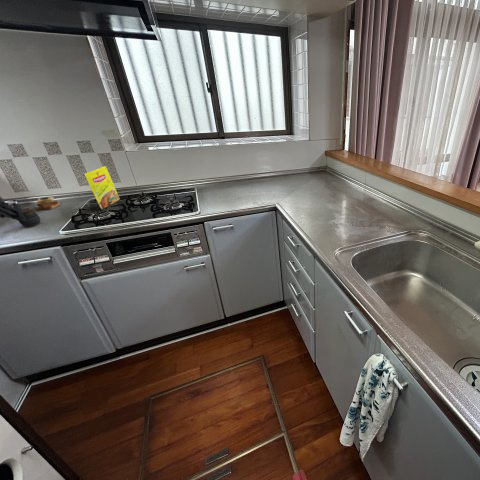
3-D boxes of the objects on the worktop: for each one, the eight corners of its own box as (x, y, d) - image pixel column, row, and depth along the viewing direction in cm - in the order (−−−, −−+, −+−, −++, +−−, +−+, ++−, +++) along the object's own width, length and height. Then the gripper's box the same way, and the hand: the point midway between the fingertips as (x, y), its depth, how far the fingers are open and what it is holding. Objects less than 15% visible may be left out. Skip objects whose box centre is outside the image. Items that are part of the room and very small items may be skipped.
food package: (102, 209, 146) (85, 173, 136) (100, 209, 146) (83, 173, 136) (120, 199, 159) (106, 165, 149) (118, 199, 159) (104, 165, 149)
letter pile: (33, 210, 146) (28, 201, 143) (48, 204, 154) (42, 195, 151) (51, 210, 146) (45, 201, 143) (64, 203, 154) (59, 195, 151)
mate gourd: (41, 220, 135) (30, 201, 130) (43, 224, 131) (32, 205, 126) (22, 225, 131) (10, 206, 126) (23, 229, 126) (10, 210, 121)
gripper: (-41, 209, 101) (6, 230, 122) (5, 202, 106) (43, 224, 127) (-43, 191, 102) (4, 215, 123) (3, 186, 107) (41, 209, 128)
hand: (24, 219), depth 125 cm, fingers closed
